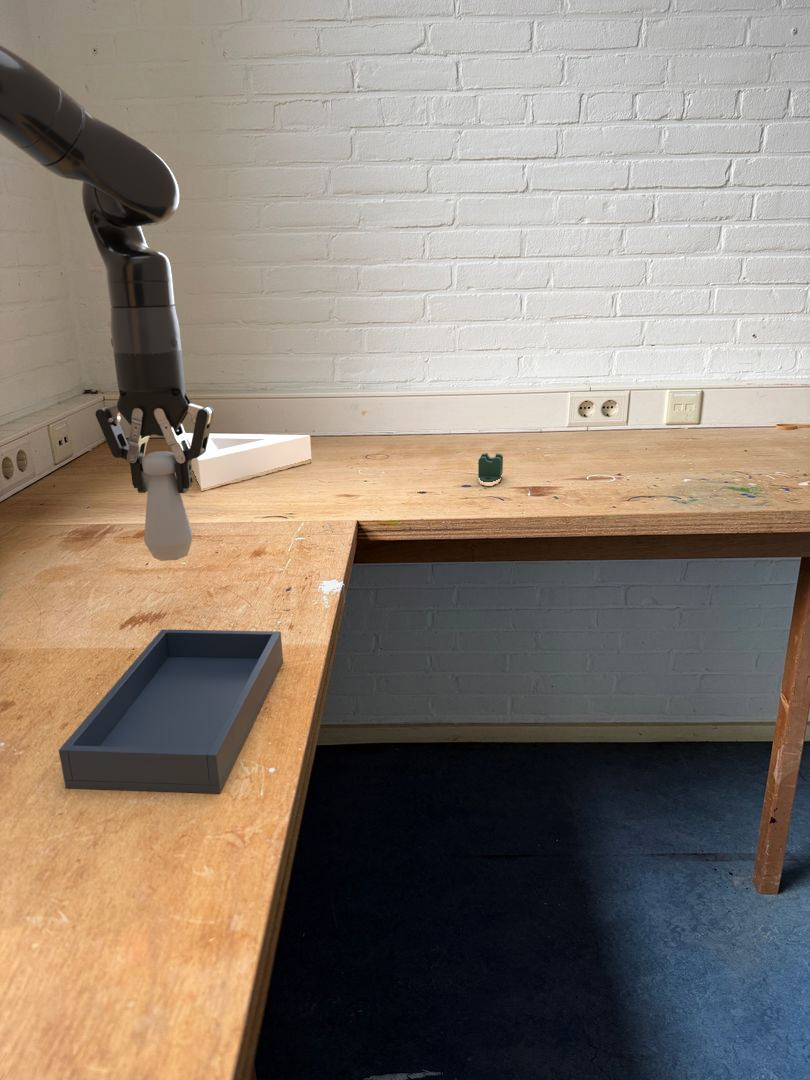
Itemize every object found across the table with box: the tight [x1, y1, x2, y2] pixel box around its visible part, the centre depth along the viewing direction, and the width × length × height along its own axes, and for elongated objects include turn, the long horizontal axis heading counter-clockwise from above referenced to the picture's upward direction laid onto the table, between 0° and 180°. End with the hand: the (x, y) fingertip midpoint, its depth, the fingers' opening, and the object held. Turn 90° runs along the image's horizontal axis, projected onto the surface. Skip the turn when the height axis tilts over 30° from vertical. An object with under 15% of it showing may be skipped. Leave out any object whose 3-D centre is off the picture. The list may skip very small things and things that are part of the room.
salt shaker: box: [142, 450, 194, 562], centre depth 97 cm, size 6×6×13 cm
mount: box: [477, 452, 504, 482], centre depth 162 cm, size 11×4×5 cm, turn 167°
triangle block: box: [185, 432, 312, 490], centre depth 169 cm, size 30×26×6 cm
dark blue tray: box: [58, 628, 284, 794], centre depth 78 cm, size 14×24×4 cm, turn 175°
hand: (163, 490), depth 97 cm, fingers closed on salt shaker, 4 cm apart
